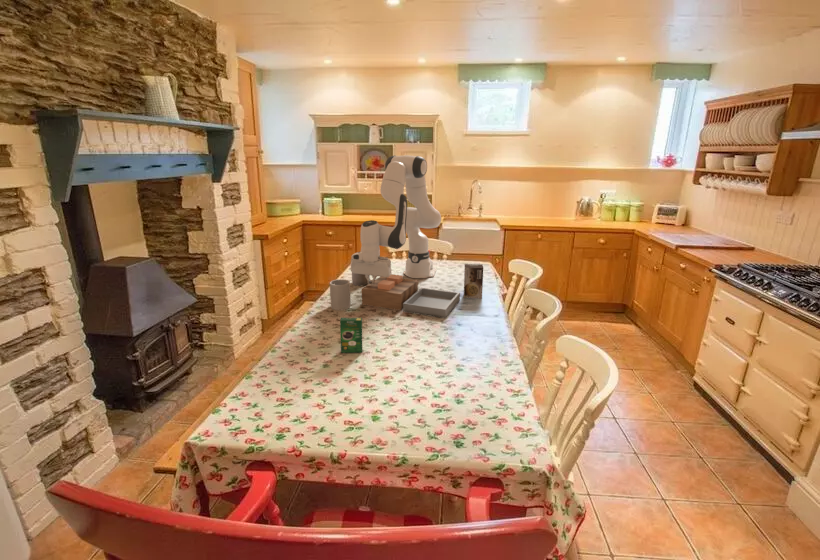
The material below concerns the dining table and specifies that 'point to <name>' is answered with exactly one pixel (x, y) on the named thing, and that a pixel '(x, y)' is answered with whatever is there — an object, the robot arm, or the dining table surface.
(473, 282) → the coffee box
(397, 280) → the terracotta tile
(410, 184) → the robot arm
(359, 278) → the pillar candle
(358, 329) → the coffee box
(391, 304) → the brown wooden block
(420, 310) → the box
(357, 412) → the dining table surface
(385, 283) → the terracotta tile
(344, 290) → the cup
